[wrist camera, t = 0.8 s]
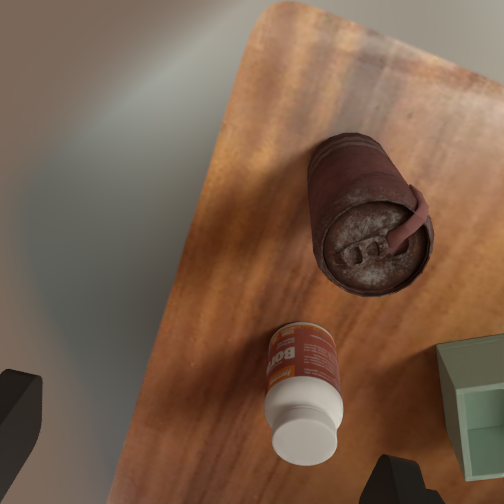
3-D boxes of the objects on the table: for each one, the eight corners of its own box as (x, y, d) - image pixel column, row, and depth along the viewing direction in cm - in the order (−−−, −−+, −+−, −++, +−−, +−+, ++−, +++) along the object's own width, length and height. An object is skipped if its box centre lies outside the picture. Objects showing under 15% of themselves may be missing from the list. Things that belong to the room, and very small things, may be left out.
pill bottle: (286, 308, 42) (284, 398, 32) (348, 334, 42) (364, 430, 33) (257, 358, 44) (247, 455, 35) (316, 382, 45) (322, 483, 35)
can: (407, 159, 35) (470, 236, 23) (352, 223, 38) (381, 323, 25) (344, 111, 34) (372, 163, 21) (291, 180, 37) (290, 262, 24)
